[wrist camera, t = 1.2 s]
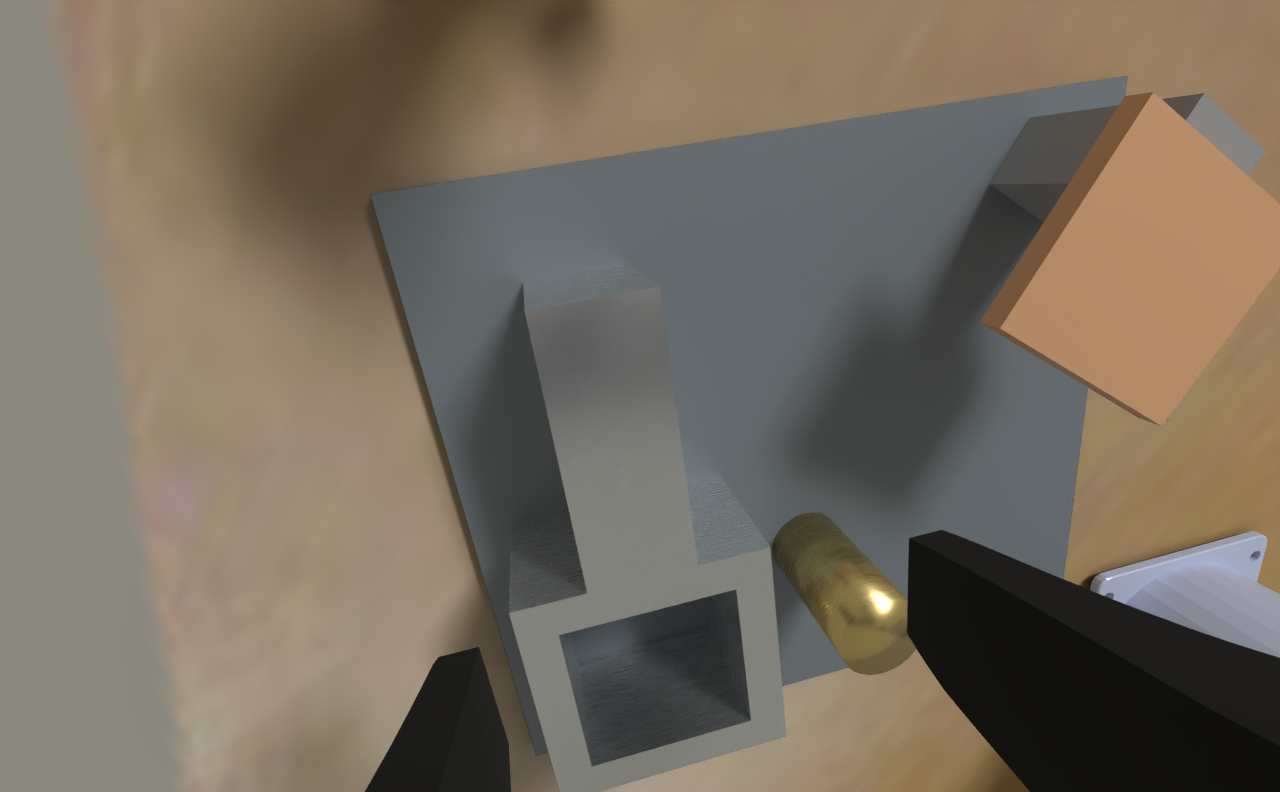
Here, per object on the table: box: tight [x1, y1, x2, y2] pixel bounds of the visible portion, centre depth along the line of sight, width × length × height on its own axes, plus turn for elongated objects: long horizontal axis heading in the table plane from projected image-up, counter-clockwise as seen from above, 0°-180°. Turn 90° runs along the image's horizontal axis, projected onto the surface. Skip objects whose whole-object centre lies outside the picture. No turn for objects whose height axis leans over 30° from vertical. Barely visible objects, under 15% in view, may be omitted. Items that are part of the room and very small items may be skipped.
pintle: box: [773, 512, 916, 675], centre depth 18 cm, size 2×2×5 cm
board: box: [370, 76, 1128, 756], centre depth 19 cm, size 19×21×1 cm
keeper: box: [980, 92, 1280, 426], centre depth 16 cm, size 6×6×6 cm
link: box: [509, 264, 786, 792], centre depth 16 cm, size 14×7×4 cm, turn 9°
